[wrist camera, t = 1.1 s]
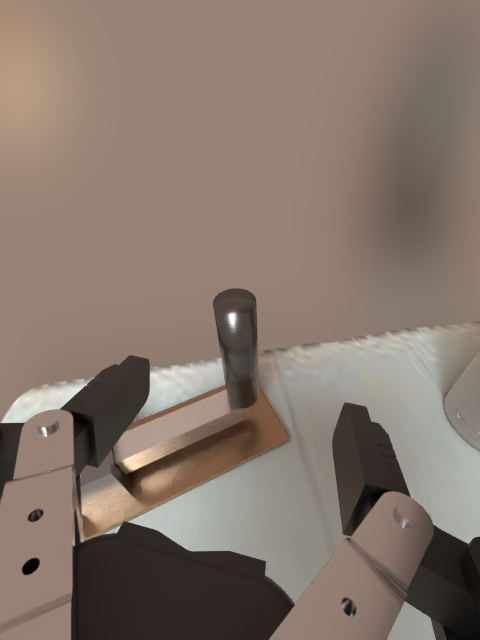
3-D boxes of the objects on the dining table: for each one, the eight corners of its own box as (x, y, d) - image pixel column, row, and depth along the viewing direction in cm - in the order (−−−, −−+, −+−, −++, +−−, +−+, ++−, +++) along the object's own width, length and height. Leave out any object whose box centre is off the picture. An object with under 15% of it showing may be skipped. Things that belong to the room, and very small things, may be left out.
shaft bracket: (251, 378, 38) (249, 345, 34) (289, 441, 32) (292, 410, 27) (7, 480, 30) (-35, 454, 26) (-5, 587, 24) (-62, 576, 20)
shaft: (250, 390, 34) (244, 284, 24) (264, 413, 32) (263, 307, 22) (94, 458, 29) (3, 361, 19) (97, 490, 27) (-4, 401, 17)
